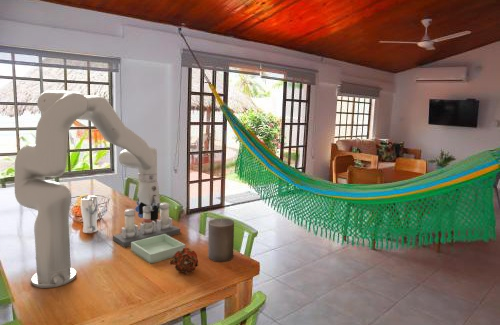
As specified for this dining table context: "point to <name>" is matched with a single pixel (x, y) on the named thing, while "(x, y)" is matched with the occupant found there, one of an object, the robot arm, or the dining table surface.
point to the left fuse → (130, 223)
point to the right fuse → (164, 215)
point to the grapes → (138, 210)
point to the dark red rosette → (185, 260)
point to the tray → (156, 248)
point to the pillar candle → (221, 239)
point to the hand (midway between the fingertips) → (148, 216)
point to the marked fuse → (147, 220)
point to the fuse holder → (141, 235)
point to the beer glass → (89, 213)
